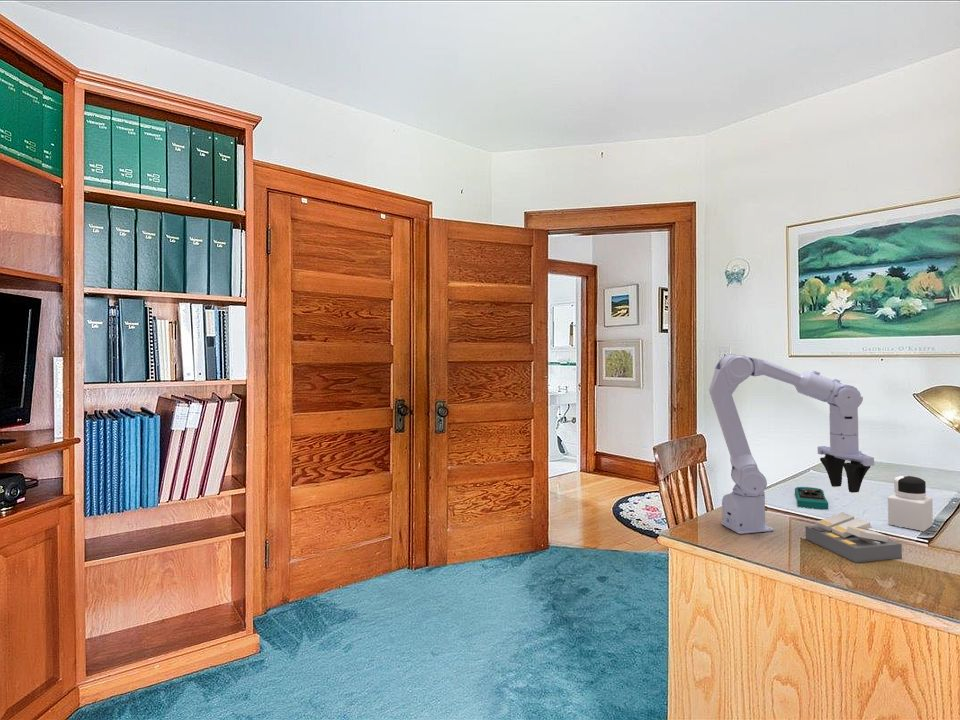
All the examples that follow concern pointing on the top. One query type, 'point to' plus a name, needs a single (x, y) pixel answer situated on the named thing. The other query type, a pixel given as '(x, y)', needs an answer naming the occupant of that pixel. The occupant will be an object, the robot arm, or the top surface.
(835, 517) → the rocker
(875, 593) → the top surface
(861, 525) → the rocker
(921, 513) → the medicine bottle
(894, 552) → the switch unit
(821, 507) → the digital multimeter
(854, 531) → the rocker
